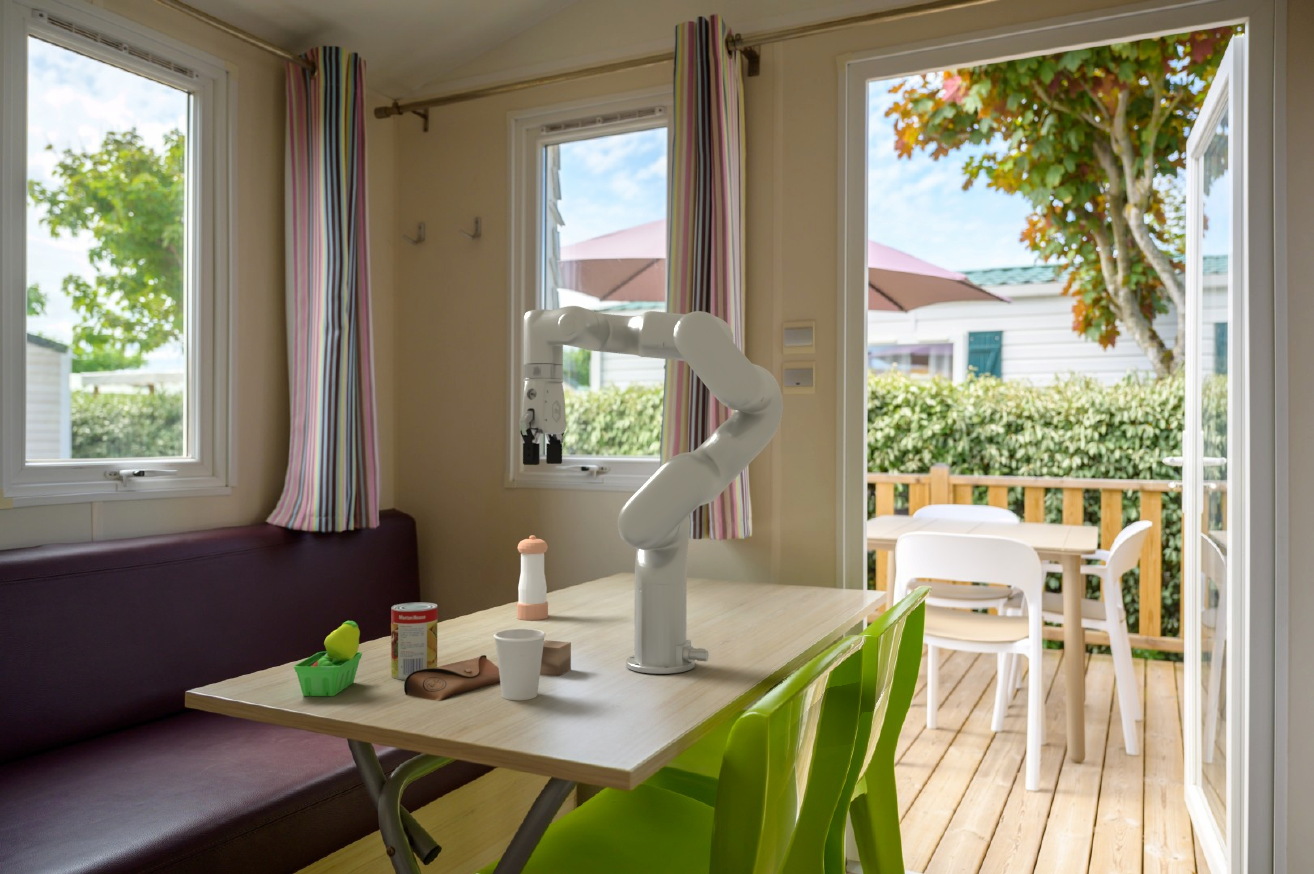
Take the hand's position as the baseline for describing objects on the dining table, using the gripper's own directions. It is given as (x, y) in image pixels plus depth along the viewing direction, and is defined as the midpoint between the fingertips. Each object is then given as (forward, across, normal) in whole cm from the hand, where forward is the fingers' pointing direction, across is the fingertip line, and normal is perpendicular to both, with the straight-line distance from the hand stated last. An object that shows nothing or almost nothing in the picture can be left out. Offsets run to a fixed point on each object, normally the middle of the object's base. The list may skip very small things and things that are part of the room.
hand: (543, 464), depth 177 cm
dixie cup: (+37, -26, -9) cm, 46 cm away
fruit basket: (+37, -33, +22) cm, 54 cm away
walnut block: (+37, -10, -7) cm, 39 cm away
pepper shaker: (+37, +35, +20) cm, 55 cm away
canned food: (+37, -20, +15) cm, 45 cm away
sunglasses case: (+38, -24, +3) cm, 45 cm away
